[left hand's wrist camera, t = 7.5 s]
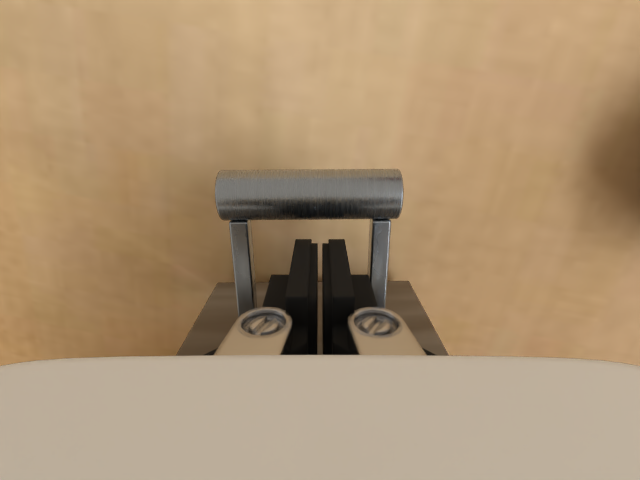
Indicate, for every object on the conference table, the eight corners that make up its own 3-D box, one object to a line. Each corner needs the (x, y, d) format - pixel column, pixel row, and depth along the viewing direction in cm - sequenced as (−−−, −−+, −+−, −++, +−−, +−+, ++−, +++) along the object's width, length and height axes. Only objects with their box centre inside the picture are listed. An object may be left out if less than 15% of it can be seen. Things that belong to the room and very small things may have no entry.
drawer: (202, 153, 15) (30, 218, 6) (420, 152, 15) (574, 213, 6) (243, 505, 23) (195, 768, 14) (389, 503, 23) (437, 763, 14)
